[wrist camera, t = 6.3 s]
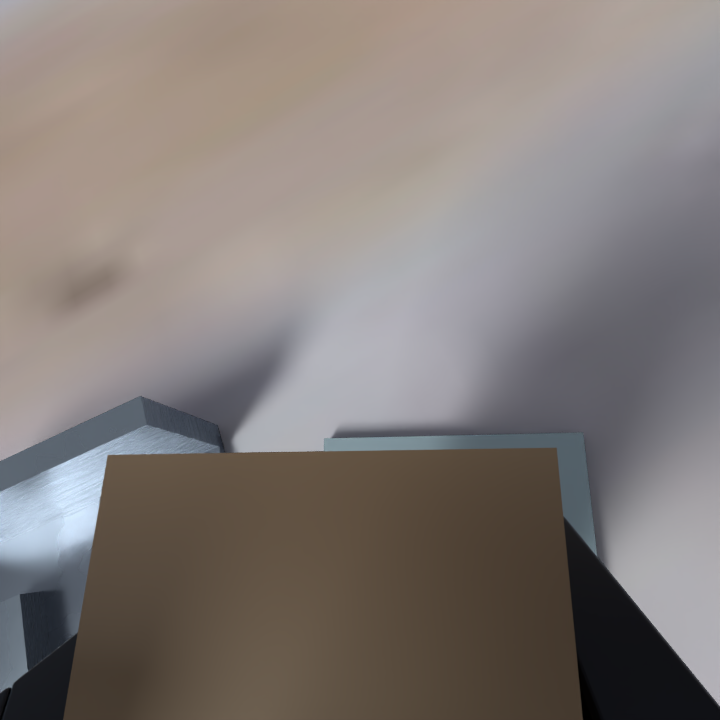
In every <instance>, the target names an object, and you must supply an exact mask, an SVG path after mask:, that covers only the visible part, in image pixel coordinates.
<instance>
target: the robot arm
mask: <svg viewBox="0 0 720 720" xmlns="http://www.w3.org/2000/svg"><path fill="white" fill-rule="evenodd" d="M563 518H564V529H565V539H566V549H567V560H568V570H569V581H570V591H571V601H572V612H573V622H574V633H575V643H576V653H577V664H578V674H579V685H580V695H581V706H582V716H583V720H720V706H719V705H718V704H717V702H716V701H715V700H714V699H713V697H712V696H711V695H710V694H709V693H708V691H707V690H706V689H705V688H704V686H703V685H702V684H701V683H700V682H699V680H698V679H697V678H696V677H695V675H694V674H693V673H692V672H691V671H690V669H689V668H688V667H687V666H686V664H685V663H684V662H683V661H682V660H681V658H680V657H679V656H678V655H677V653H676V652H675V651H674V650H673V649H672V647H671V646H670V645H669V644H668V642H667V641H666V640H665V639H664V638H663V636H662V635H661V634H660V633H659V631H658V630H657V629H656V628H655V627H654V625H653V624H652V623H651V622H650V620H649V619H648V618H647V617H646V616H645V614H644V613H643V612H642V611H641V610H640V608H639V607H638V606H637V605H636V603H635V602H634V601H633V600H632V599H631V597H630V596H629V595H628V594H627V592H626V591H625V590H624V589H623V588H622V586H621V585H620V584H619V583H618V581H617V580H616V579H615V578H614V577H613V575H612V574H611V573H610V572H609V570H608V569H607V568H606V567H605V566H604V564H603V563H602V562H601V561H600V559H599V558H598V557H597V556H596V555H595V553H594V552H593V551H592V550H591V548H590V547H589V546H588V545H587V544H586V542H585V541H584V540H583V539H582V537H581V536H580V535H579V534H578V533H577V531H576V530H575V529H574V528H573V526H572V525H571V524H570V523H569V522H568V520H567V519H566V518H565V517H564V516H563ZM77 634H78V632H77V633H76V634H75V635H73V636H72V637H71V638H70V639H68V640H67V641H66V642H65V643H63V644H62V645H61V646H59V647H58V648H57V649H56V650H54V651H53V652H52V653H51V654H49V655H48V656H47V657H45V658H44V659H43V660H42V661H40V662H39V663H38V664H36V665H35V666H34V667H33V668H31V669H30V670H29V671H28V672H26V673H25V674H24V675H22V676H21V677H20V678H19V679H17V680H16V681H15V682H14V683H13V685H12V688H11V687H8V688H6V689H4V690H3V691H2V692H1V693H0V720H63V718H64V712H65V706H66V700H67V694H68V688H69V682H70V676H71V670H72V664H73V658H74V652H75V646H76V640H77Z"/></svg>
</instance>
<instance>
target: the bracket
mask: <svg viewBox="0 0 720 720" xmlns="http://www.w3.org/2000/svg"><path fill="white" fill-rule="evenodd" d="M190 453H225V451H224V447H223V444H222V440H221V436H220V433H219V429H218V425H215V424H213V423H210V422H208V421H205V420H202V419H200V418H197V417H194V416H192V415H189V414H186V413H184V412H181V411H179V410H176V409H173V408H171V407H168V406H165V405H163V404H160V403H158V402H155V401H152V400H150V399H147V398H144V397H142V396H139V397H137V398H135V399H133V400H131V401H129V402H127V403H124V404H122V405H120V406H118V407H116V408H114V409H112V410H109V411H107V412H105V413H103V414H101V415H99V416H97V417H94V418H92V419H90V420H88V421H86V422H84V423H81V424H79V425H77V426H75V427H73V428H71V429H69V430H66V431H64V432H62V433H60V434H58V435H56V436H54V437H51V438H49V439H47V440H45V441H43V442H41V443H39V444H36V445H34V446H32V447H30V448H28V449H26V450H24V451H21V452H19V453H17V454H15V455H13V456H11V457H8V458H6V459H4V460H2V461H0V693H1V692H2V691H3V690H4V689H6V688H8V687H11V688H12V685H13V683H14V682H15V681H16V680H17V679H19V678H20V677H21V676H22V675H24V674H25V673H26V672H28V671H29V670H30V669H31V668H33V667H34V666H35V665H36V664H38V663H39V662H40V661H42V660H43V659H44V658H45V657H47V656H48V655H49V654H51V653H52V652H53V651H54V650H56V649H57V648H58V647H59V646H61V645H62V644H63V643H65V642H66V641H67V640H68V639H70V638H71V637H72V636H73V635H75V634H76V633H77V632H78V628H79V622H80V616H81V611H82V605H83V599H84V593H85V587H86V581H87V575H88V569H89V563H90V557H91V551H92V545H93V539H94V533H95V527H96V521H97V515H98V509H99V503H100V497H101V491H102V485H103V479H104V473H105V467H106V461H107V455H128V454H190Z"/></svg>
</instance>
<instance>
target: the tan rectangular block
mask: <svg viewBox="0 0 720 720" xmlns="http://www.w3.org/2000/svg"><path fill="white" fill-rule="evenodd" d="M63 720H583V716H582V706H581V695H580V685H579V674H578V664H577V653H576V643H575V633H574V622H573V612H572V601H571V591H570V581H569V570H568V560H567V549H566V539H565V529H564V518H563V508H562V497H561V487H560V476H559V466H558V456H557V448H502V449H439V450H377V451H315V452H252V453H190V454H128V455H107V461H106V467H105V473H104V479H103V485H102V491H101V497H100V503H99V509H98V515H97V521H96V527H95V533H94V539H93V545H92V551H91V557H90V563H89V569H88V575H87V581H86V587H85V593H84V599H83V605H82V611H81V616H80V622H79V628H78V634H77V640H76V646H75V652H74V658H73V664H72V670H71V676H70V682H69V688H68V694H67V700H66V706H65V712H64V718H63Z"/></svg>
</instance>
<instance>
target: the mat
mask: <svg viewBox="0 0 720 720" xmlns="http://www.w3.org/2000/svg"><path fill="white" fill-rule="evenodd" d="M502 448H557V456H558V466H559V476H560V487H561V497H562V508H563V516H564V517H565V518H566V519H567V520H568V522H569V523H570V524H571V525H572V526H573V528H574V529H575V530H576V531H577V533H578V534H579V535H580V536H581V537H582V539H583V540H584V541H585V542H586V544H587V545H588V546H589V547H590V548H591V550H592V551H593V552H594V553H595V555H596V556H597V550H596V541H595V532H594V524H593V515H592V506H591V497H590V488H589V479H588V471H587V462H586V453H585V444H584V435H583V432H580V433H537V434H494V435H451V436H408V437H365V438H324V451H377V450H439V449H502Z"/></svg>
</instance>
